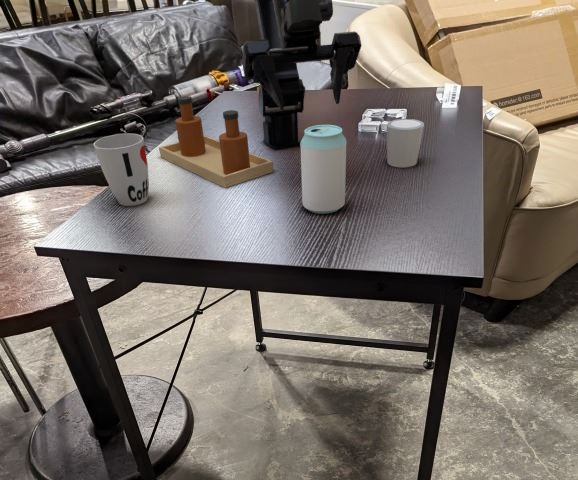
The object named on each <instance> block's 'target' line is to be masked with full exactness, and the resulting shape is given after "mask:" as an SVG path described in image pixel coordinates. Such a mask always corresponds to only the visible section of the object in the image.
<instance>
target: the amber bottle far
mask: <svg viewBox="0 0 578 480" xmlns="http://www.w3.org/2000/svg"><path fill="white" fill-rule="evenodd" d="M177 102H178V105H179V109H180V116H179V117H177V118H176V119H175V120H174V122H175V128H176V133H177V139H178V142H179V145H180V151H181V155H182V156H186V157H195V156H200V155H202V154H204V153H205V152H206V149H205V142H204V135H205V134H204V130H203V123H202V117H201V116H199V115H194V110H193V109H194V108H193V98H192V96H191V95H183V96H178V98H177Z"/></svg>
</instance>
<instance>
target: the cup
mask: <svg viewBox="0 0 578 480" xmlns="http://www.w3.org/2000/svg"><path fill="white" fill-rule="evenodd" d="M93 148H94V151H95V154H96V157H97V160H98V162H99V165H100V169H101V172H102V173H103V175H104V177H105V180H106V182H107V184H108V186H109V189H110V191H111V192H112V194H113V195H114V197H115V199H116V200H117V202H118V204H119V205H121V206H124V207H133V206H134V207H135V206H138V205H141V204H144V203H145V202H147V201H148V198H149V185H150V181H149V164H148V158H147V152H146V147H145V141H144V137H143V135H141V134H138V133H118V134H112V135H108V136H104V137H101V138H99V139H97V140H96V141H94V142H93Z"/></svg>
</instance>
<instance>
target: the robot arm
mask: <svg viewBox="0 0 578 480" xmlns="http://www.w3.org/2000/svg"><path fill="white" fill-rule="evenodd" d="M254 5H255V12H256V16H257V23H258V29H259V34H260V39H256V40H245V42H244V44H243V46H242V70H243V75H244V79H246V80H247V81H251V80H253V83H254V84H259V89H258V99H257V100H258V101H257V102H258V111H259V113H260V115H261V116H262V117H263V118H264V120H263V122H262V128H263V129H262V130H263V139H262V142H263V143H264V144H265V145H267V146H269V147H270V148H273V150H279V149H283V148H289V147H293V146H298V145H301V144H300V143H301V140H302V139H299V121H298V120H299V119H298V115H299V114H303V113H304V110H305V106H304V105H305V103H304V102H305V95H306V86H305V85H304V83H303V79H302V78H300V74H299V71H298V70H299V69H298V65H297V64H301V63H311V62H321V61H328V62H329V67H330V68H331V70H330V72H329V75H330V81H331V82H330V83H331V88H332V93H333V98H334V99H333V100H334V102H335V104H336V105H339V104H340V102H341V94H342V85H343V78H344V75H347V74H348V73H349V71H350V70H352V69H354V68H355V66H356V64H357V60H358V58H359V55H360V52H361V49H362V46H363V45H362V41H361V35H360V34H359V33H358V31H344V32H334V33H333V37H332V41H331V44H322V45H321V44H320V45H318V42H317V40H319V39H320V37H321V34H322V33H321V27H320V25H321V24H323V22H330V21H331V19H332V17H333V15H334V6H333V0H254ZM298 113H299V114H298Z"/></svg>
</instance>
